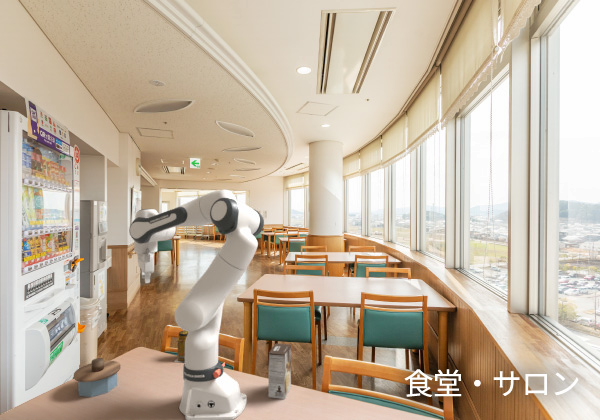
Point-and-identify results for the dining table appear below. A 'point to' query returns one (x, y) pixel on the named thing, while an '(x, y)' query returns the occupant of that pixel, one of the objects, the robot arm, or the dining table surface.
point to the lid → (97, 370)
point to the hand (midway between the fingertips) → (145, 280)
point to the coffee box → (279, 370)
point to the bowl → (97, 386)
